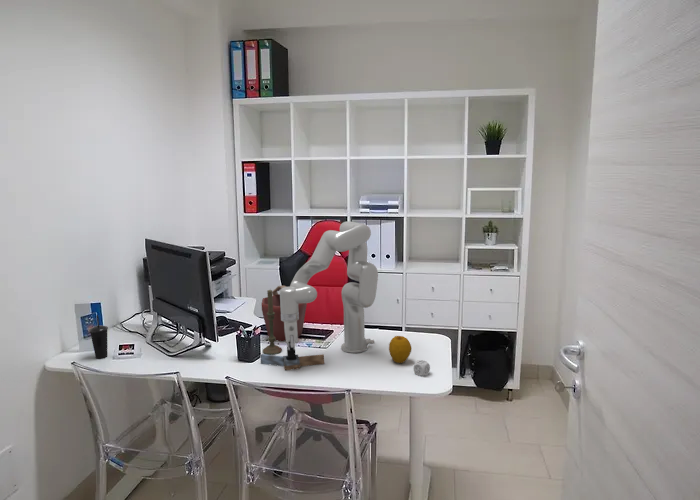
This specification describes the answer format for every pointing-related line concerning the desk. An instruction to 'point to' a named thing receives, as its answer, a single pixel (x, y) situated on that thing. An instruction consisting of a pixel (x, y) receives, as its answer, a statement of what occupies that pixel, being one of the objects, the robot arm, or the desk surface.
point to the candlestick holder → (271, 329)
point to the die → (421, 367)
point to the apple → (399, 349)
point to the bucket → (277, 323)
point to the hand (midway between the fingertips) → (291, 356)
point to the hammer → (292, 361)
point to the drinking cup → (99, 340)
